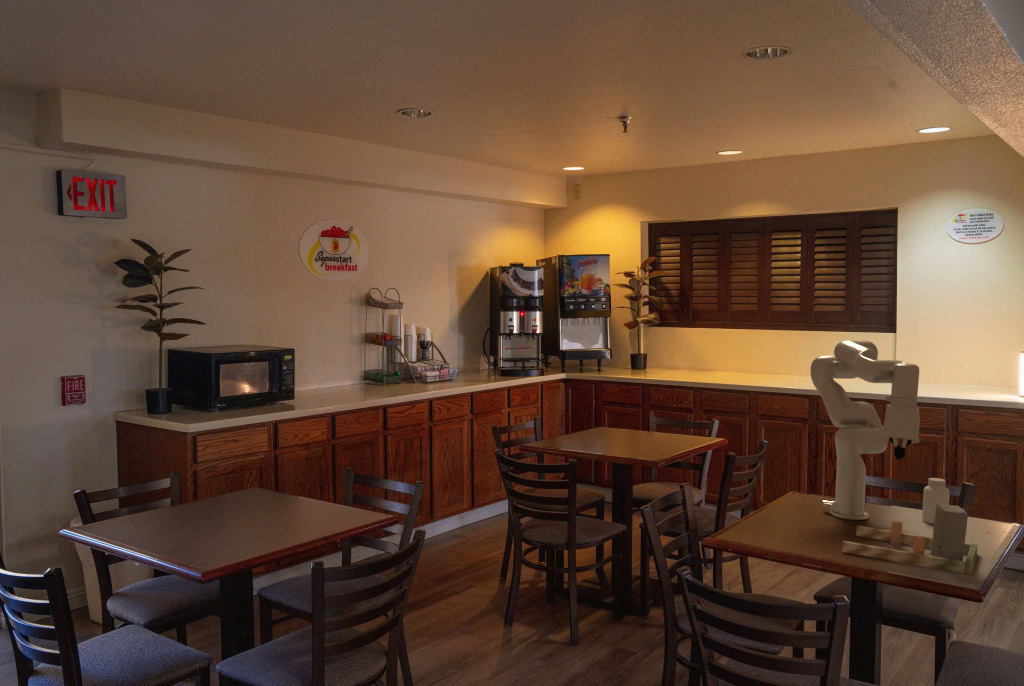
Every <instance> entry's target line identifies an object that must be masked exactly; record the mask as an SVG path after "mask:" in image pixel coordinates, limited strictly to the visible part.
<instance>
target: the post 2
mask: <svg viewBox="0 0 1024 686" xmlns="http://www.w3.org/2000/svg"><path fill="white" fill-rule="evenodd" d="M920 536H921V535H920ZM920 536H914V541H913V545H912V553H918V554H924V555H926V554H925V551H926V549H925V548H926V547H925V538H924V537H920Z"/></svg>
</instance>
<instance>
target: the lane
mask: <svg viewBox="0 0 1024 686" xmlns="http://www.w3.org/2000/svg"><path fill="white" fill-rule="evenodd" d="M855 530H856V531H855V536H856V537H863V538H868V539H872V540H873V539H874V540H880V541H885V542H891V530H887V529H883V528H877V527H870V526H863V525H856V529H855ZM914 536H920V537H924V538H925V548H928V549H931V548H932V539H933V536H932V537H931V536H926V535H925V536H924V535H918V534H913V533H906V532H902V540H901V544H903V545H910V546H913V541H914ZM841 546H842V547H841V548H842V549H841V551H842V553H846V554H853V555H858V556H862V555H863V557H868V558H874V559H875V558H876V559H879V558H880V560H884V561H885V560H886V561H892V562H897V563H902V564H909V565H912V566H913V565H914V566H919V567H925V568H930V569H937V570H940V571H941V570H942V571H947V572H952V573H953V572H954V573H958V574H965V575H970V576H971V575H972V574H973V570H974V567H975V562H976V559H977V555H978V544H975V543H970V542H965V545H964V554H963V555H966V559H965V560H963V561H959V560H953V559H948V558H942V557H936V556H931V554H930V555H929V554H925V555H924V554H918V553H913V551H905V550H900V549H895V548H890V547H889V548H887V547H882V546H878V545H877V546H875V545H870V544H865V543H858V542H853V541H852V542H851V541H848V540H843V541H842V545H841Z"/></svg>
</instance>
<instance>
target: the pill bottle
mask: <svg viewBox="0 0 1024 686" xmlns="http://www.w3.org/2000/svg"><path fill="white" fill-rule="evenodd" d="M946 482H947V480H946V479H943V478H937V477H929V478H928V481H927V483H928V485H926V486H925V487H924V488H923V496H922V499H923V500H922V517H921V519H922V521H923V522H925V523H927V524H931V525H934V522H935V514H936V504H945V505H950V494H951V493H950V489H948V488H947V487H946V485H947V484H946Z"/></svg>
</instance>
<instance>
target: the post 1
mask: <svg viewBox="0 0 1024 686" xmlns="http://www.w3.org/2000/svg"><path fill="white" fill-rule="evenodd" d="M890 529H891V530H890V531H891V541H890V545H891V546H897V547H900V546H902V543H901V540H902V533H903V522H902V521H899V520H891V527H890Z"/></svg>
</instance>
